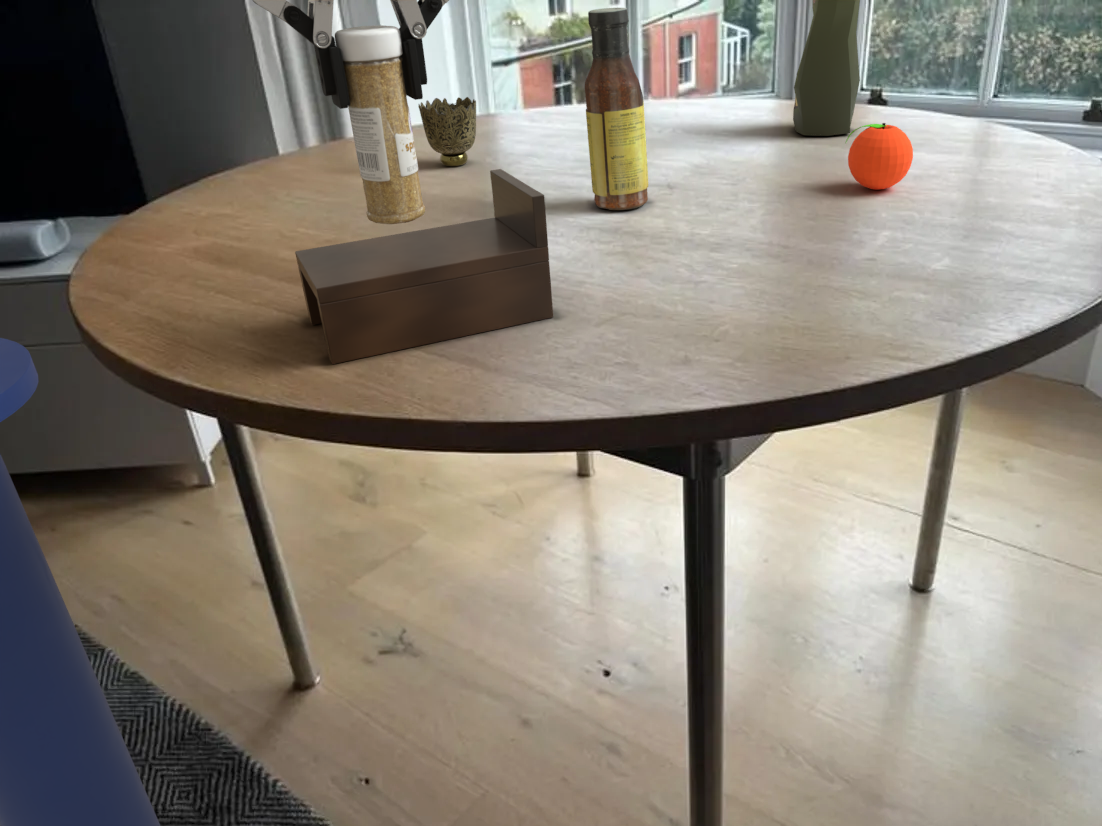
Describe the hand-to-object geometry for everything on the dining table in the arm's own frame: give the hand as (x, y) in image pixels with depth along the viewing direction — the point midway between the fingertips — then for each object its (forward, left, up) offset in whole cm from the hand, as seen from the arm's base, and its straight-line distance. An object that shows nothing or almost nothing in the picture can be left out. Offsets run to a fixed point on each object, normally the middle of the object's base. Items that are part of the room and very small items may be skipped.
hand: (377, 98), depth 67 cm
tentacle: (+69, +39, -18) cm, 82 cm away
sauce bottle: (+29, +22, -18) cm, 41 cm away
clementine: (+56, +12, -18) cm, 60 cm away
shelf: (+1, 0, -17) cm, 18 cm away
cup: (+19, +52, -18) cm, 58 cm away
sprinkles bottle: (0, 0, -9) cm, 9 cm away
